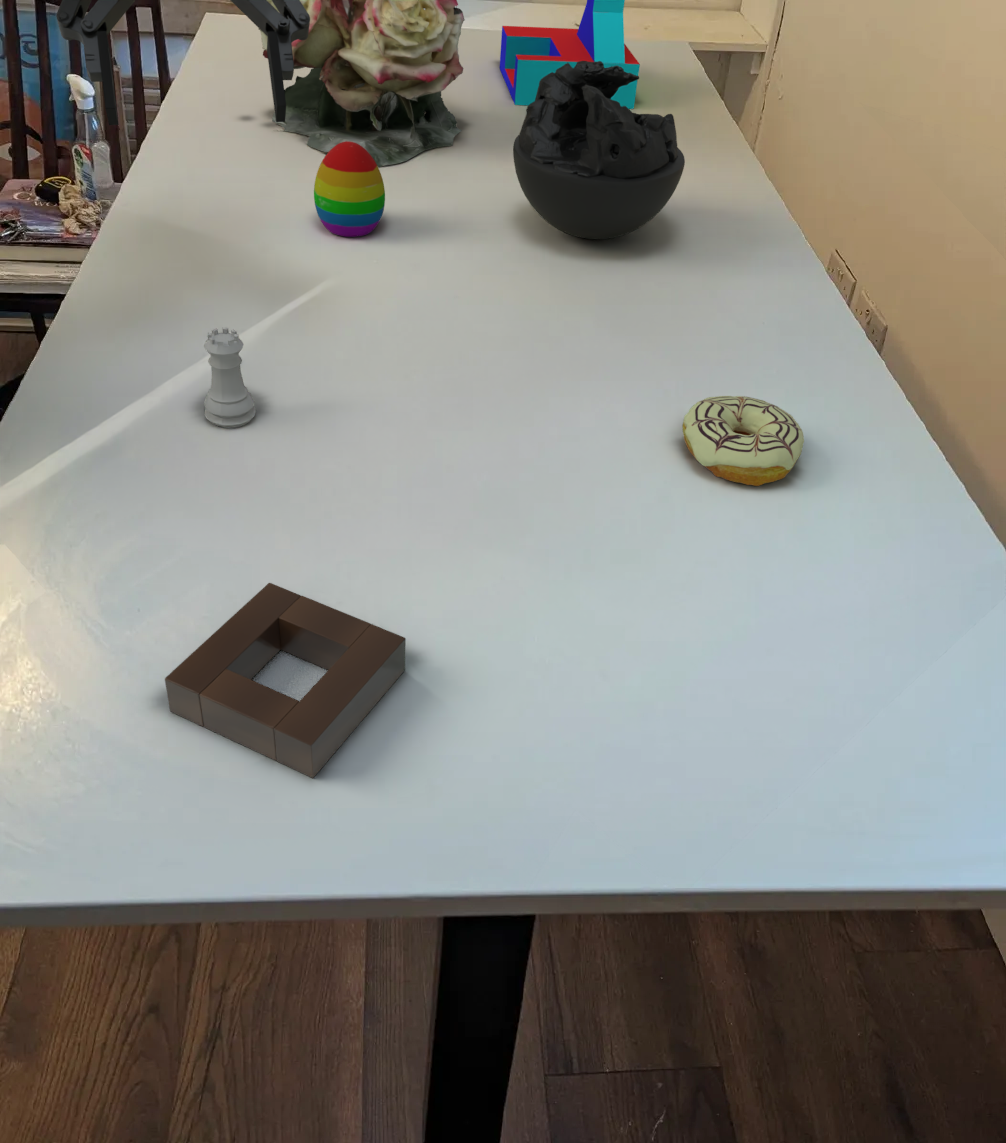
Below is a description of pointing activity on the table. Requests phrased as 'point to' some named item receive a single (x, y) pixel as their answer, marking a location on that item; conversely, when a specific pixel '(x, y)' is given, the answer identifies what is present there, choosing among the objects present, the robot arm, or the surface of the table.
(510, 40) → the building blocks toy
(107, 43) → the robot arm
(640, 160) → the coal bowl
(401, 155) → the rose bouquet
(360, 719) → the brown square frame
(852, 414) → the table surface
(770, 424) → the decorated donut
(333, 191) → the decorative egg
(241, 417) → the rook chess piece
